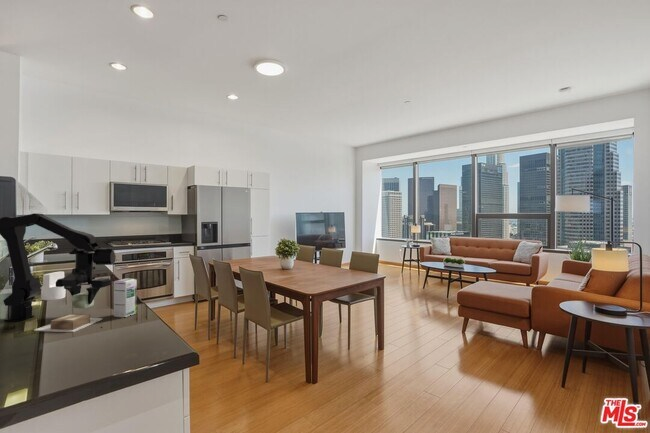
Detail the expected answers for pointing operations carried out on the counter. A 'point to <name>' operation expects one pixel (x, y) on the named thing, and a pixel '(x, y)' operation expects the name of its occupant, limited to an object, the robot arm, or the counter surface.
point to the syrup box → (125, 297)
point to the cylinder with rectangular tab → (52, 286)
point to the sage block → (81, 301)
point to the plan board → (69, 323)
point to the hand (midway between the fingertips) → (83, 303)
